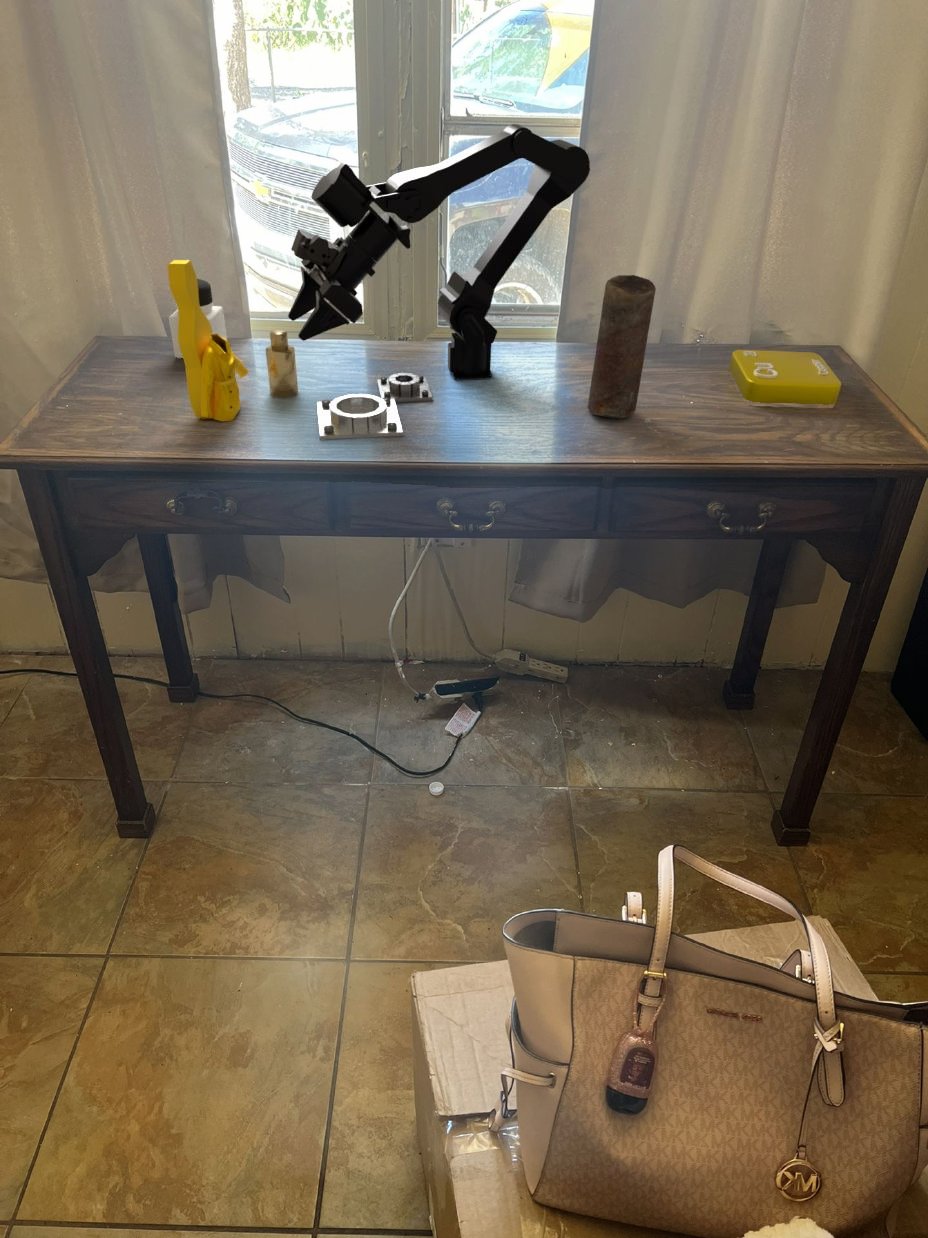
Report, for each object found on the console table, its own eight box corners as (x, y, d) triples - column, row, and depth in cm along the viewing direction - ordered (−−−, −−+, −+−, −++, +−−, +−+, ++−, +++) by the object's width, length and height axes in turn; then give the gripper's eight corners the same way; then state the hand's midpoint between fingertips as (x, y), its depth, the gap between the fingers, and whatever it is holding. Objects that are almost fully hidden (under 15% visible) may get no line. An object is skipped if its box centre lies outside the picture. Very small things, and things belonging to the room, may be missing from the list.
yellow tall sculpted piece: (221, 440, 127) (197, 282, 114) (168, 436, 128) (138, 278, 114) (261, 392, 141) (244, 247, 128) (214, 388, 142) (192, 243, 129)
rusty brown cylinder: (640, 408, 139) (660, 277, 127) (631, 427, 134) (651, 291, 122) (592, 401, 141) (607, 271, 129) (582, 419, 136) (597, 285, 124)
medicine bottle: (228, 346, 157) (218, 276, 150) (215, 361, 151) (204, 289, 144) (189, 344, 157) (177, 274, 150) (174, 358, 152) (162, 286, 144)
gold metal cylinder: (298, 386, 143) (292, 327, 138) (298, 397, 140) (293, 337, 134) (270, 387, 143) (263, 328, 137) (270, 398, 139) (263, 338, 134)
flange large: (394, 402, 139) (394, 387, 138) (402, 435, 130) (402, 420, 128) (317, 405, 137) (316, 391, 136) (320, 439, 128) (318, 424, 126)
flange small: (425, 381, 146) (425, 368, 145) (432, 400, 140) (432, 387, 139) (377, 383, 145) (376, 370, 144) (381, 402, 139) (381, 389, 137)
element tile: (838, 412, 141) (846, 383, 138) (743, 408, 142) (750, 379, 139) (812, 376, 153) (819, 348, 150) (725, 372, 153) (730, 345, 151)
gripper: (310, 195, 134) (245, 274, 138) (336, 225, 120) (262, 312, 124) (363, 247, 141) (299, 321, 145) (393, 281, 127) (322, 362, 131)
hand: (295, 328), depth 136 cm, fingers open, 9 cm apart
